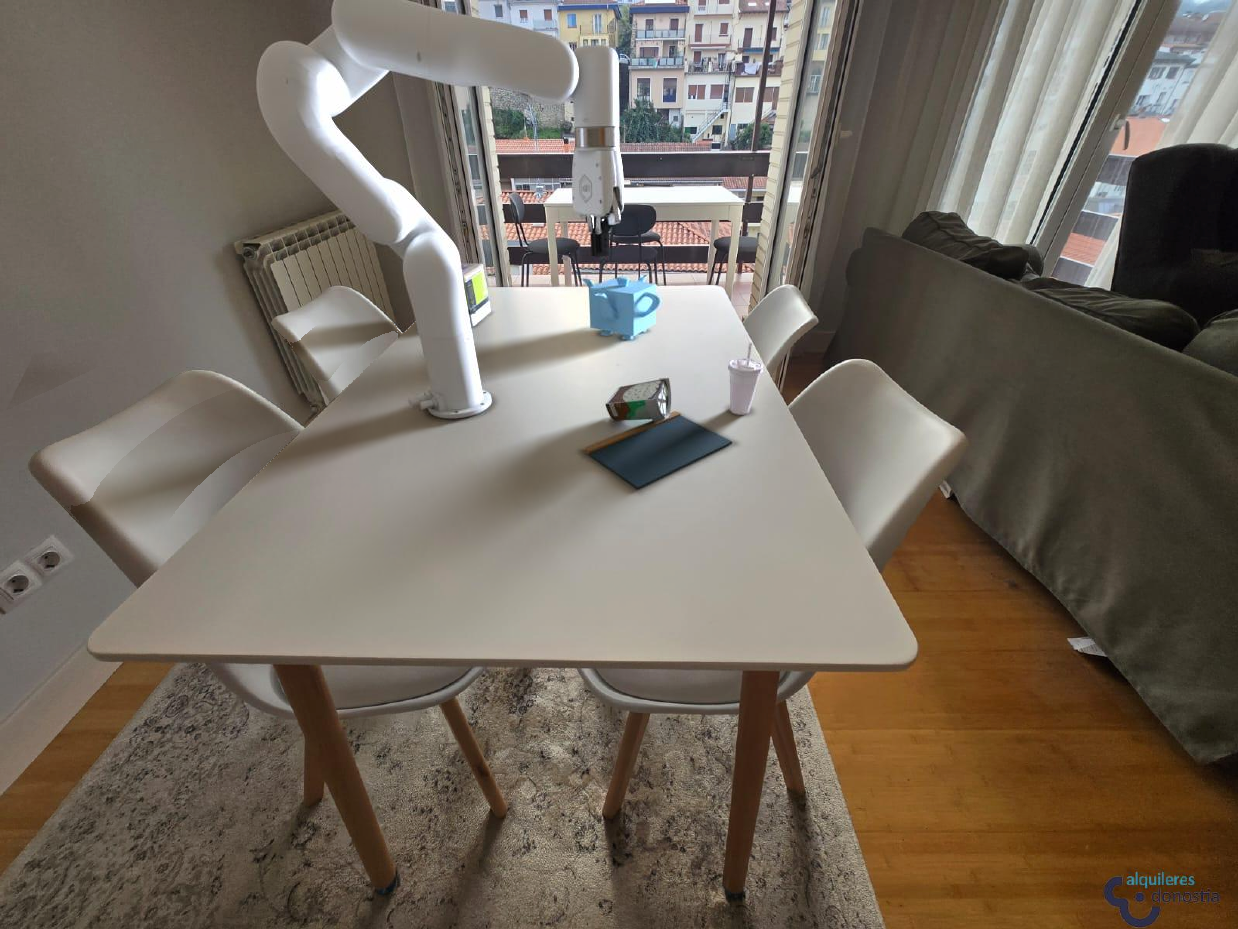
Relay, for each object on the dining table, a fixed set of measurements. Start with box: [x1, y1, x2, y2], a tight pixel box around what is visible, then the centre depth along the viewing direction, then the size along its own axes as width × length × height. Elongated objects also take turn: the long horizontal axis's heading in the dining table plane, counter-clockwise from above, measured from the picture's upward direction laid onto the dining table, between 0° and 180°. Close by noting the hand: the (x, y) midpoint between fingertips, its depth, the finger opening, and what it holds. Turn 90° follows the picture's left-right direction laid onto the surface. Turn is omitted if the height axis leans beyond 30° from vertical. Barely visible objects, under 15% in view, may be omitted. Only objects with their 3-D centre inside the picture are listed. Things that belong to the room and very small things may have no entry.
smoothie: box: [727, 342, 764, 416], centre depth 97 cm, size 6×6×14 cm
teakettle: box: [581, 274, 662, 341], centre depth 137 cm, size 19×19×15 cm
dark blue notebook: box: [583, 410, 733, 490], centre depth 89 cm, size 22×14×1 cm, turn 129°
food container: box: [605, 377, 672, 422], centre depth 96 cm, size 12×6×10 cm
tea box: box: [461, 263, 492, 328], centre depth 149 cm, size 15×10×15 cm, turn 172°
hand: (600, 255), depth 96 cm, fingers closed
